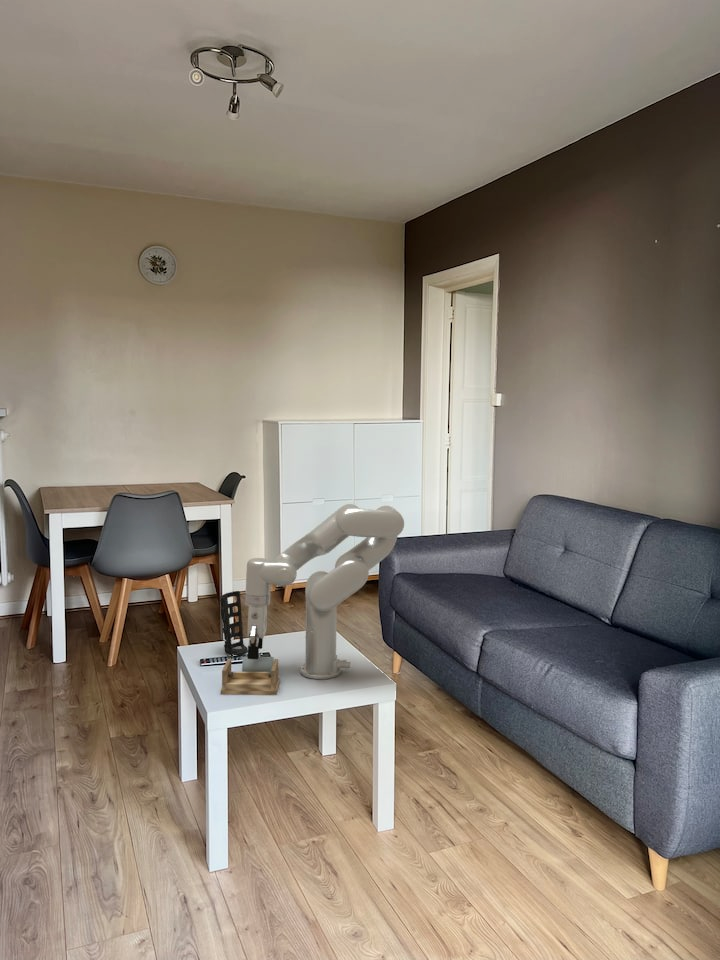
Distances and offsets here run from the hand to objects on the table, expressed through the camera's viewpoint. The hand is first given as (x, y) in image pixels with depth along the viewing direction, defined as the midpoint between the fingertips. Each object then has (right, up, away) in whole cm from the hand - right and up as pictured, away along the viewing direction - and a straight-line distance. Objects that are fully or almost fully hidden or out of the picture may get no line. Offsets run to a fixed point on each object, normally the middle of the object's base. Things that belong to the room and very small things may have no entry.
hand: (255, 653), depth 222 cm
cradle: (0, -8, -10) cm, 13 cm away
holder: (-10, -5, +21) cm, 23 cm away
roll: (+1, -6, +1) cm, 6 cm away
